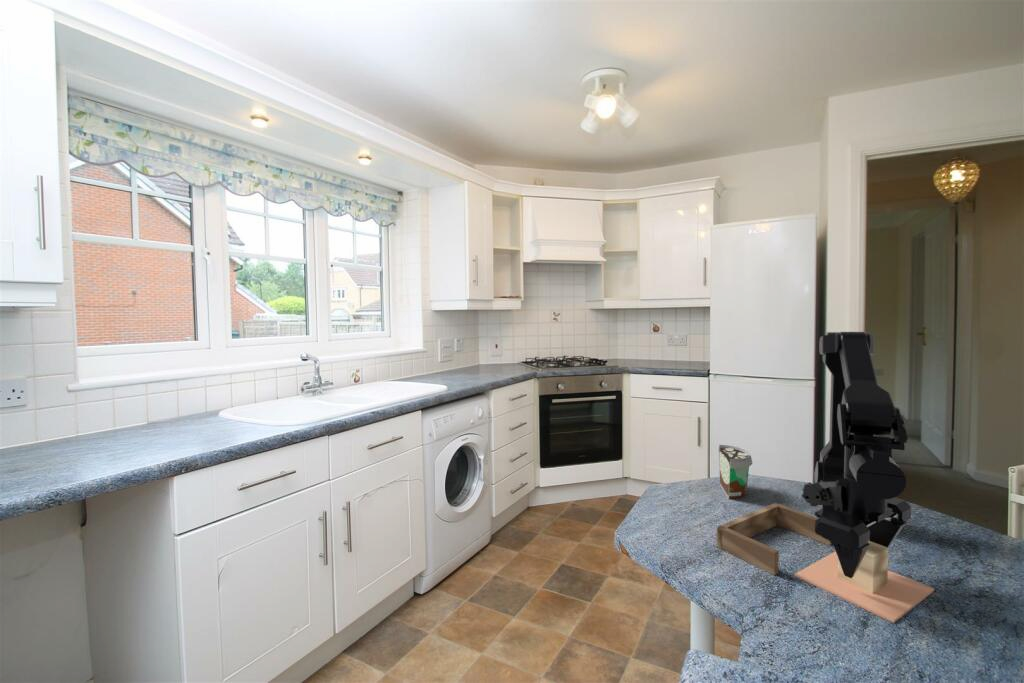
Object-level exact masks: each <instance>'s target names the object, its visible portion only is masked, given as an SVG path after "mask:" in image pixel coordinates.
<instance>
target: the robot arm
mask: <svg viewBox="0 0 1024 683" xmlns="http://www.w3.org/2000/svg"><path fill="white" fill-rule="evenodd" d="M874 341H875V336H874V335H872V334H870V333H867V332H865V331H840V332H839V331H838V332H837V331H835V332H834V331H831V332H830V331H829V332H828V331H827V332H826V334H825V335H821V336H820V337H819V346H818V347H819V355H822V362H823V364H824V365H825V367H826V368H827V369H828V370H829V372H830V401H829V402H830V406H829V408H830V409H829V410H830V411H829V435H828V436H829V438H828V439H829V440H828V442H827V444H825V446H824V447H823V448H822V449H821V451H820V453H819V461H817V460H816V463H815V468H814V474H813V475H814V476H813V478H814V482H813V483H812V482H808V483H805V484H804V485H803V488H802V494H801V497H802V498H803V499H804V501H805V502H806V503H808V504H809V506H810V507H817V506H821V509H819V510H817V511H814V515H815V517H818V518H819V519H817V520H815V532H816V534H818V535H821V536H822V537H823V538H825V539H827V540H829V541H830V542H831V543H832V544H831V545H832V546H833V548H834V550H835V551H836V553H837V556H838V559H839V562H840V564H841V567H842V570H843V573H844V575H845V576H847V577H849V578H853V576H854V575H855V573H856V571H857V569H858V567H859V565H860V563H861V561H862V559H863V557H864V555H865V553H866V551H867V549H868V547H869V545H870V544H869V543H868V541H871V542H874V543H876V544H879V545H882V546H885V547H888V548H890V546H891V545H892V543H893V542H894V541H895V540H896V539H897V537H898V535H900V533H901V531H902V530H903V528H904V527H905V526H906V525H907V521H909V520H911V518H912V507H911V505H910V504H909V503H908V502H907V501H906V500H905V499H902V498H898V496H900V495H901V494H902V493H903V492H904V490H905V489H906V485H907V478H906V475H905V474H904V471H903V470H902V469H901V468H900V467H899V465H898V464H897V463H896V461H894V459H893V455H892V453H893V452H892V450H896V451H897V450H899V451H905V447H906V446H905V444H907V441H908V434H907V429H906V425H905V420H904V417H903V414H902V413H901V412H900V409H899V407H898V406H897V407H895V404H894V401H893V399H892V396H891V393H890V392H889V391H887V390H885V389H884V388H882V387H881V386H879V383H878V380H877V376H876V372H875V371H876V370H875V367H874V363H873V359H872V356H873V355H875V347H874V346H875V342H874ZM891 434H893V437H890V435H891ZM835 551H834V552H835Z"/></svg>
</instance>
